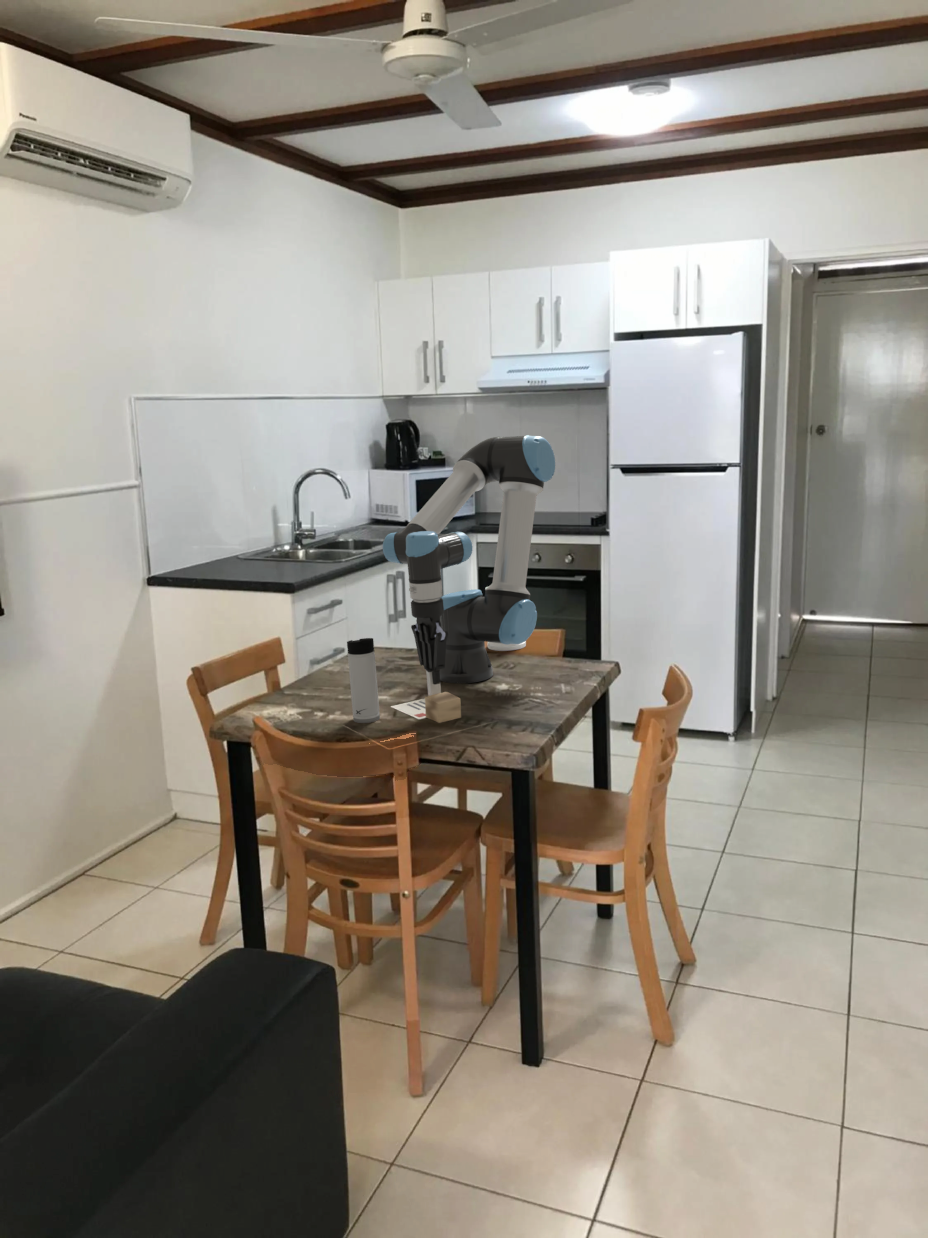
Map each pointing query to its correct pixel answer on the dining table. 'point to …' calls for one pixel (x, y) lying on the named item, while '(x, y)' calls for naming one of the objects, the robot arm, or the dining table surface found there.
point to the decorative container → (505, 645)
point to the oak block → (443, 707)
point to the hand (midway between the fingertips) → (434, 696)
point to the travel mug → (363, 680)
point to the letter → (413, 708)
